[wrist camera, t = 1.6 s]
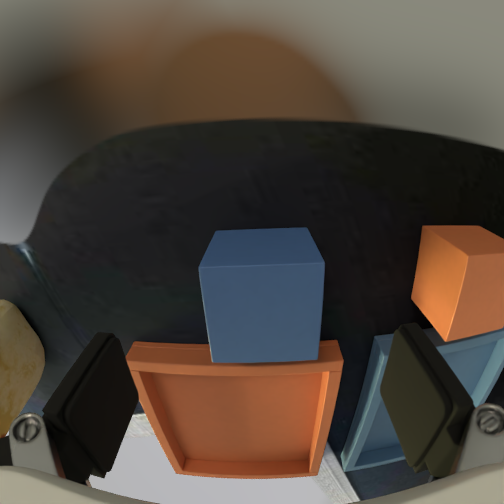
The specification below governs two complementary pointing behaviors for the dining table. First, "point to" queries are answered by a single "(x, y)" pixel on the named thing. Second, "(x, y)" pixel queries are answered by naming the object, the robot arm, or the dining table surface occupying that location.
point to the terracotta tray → (237, 409)
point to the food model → (17, 363)
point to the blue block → (262, 295)
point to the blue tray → (373, 408)
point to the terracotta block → (460, 280)
